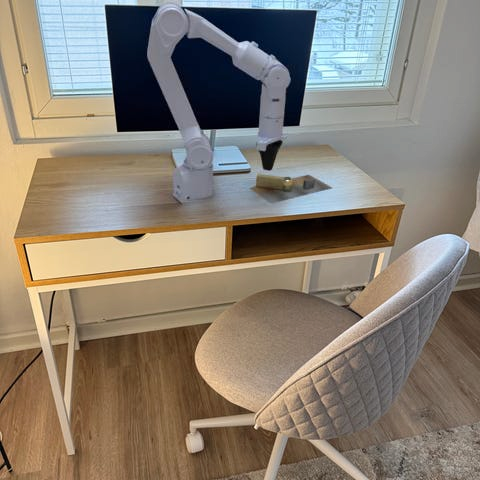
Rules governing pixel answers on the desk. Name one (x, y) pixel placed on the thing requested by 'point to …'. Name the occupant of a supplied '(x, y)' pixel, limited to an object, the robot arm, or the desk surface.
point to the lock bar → (274, 182)
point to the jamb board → (296, 191)
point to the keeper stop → (309, 183)
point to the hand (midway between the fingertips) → (267, 169)
